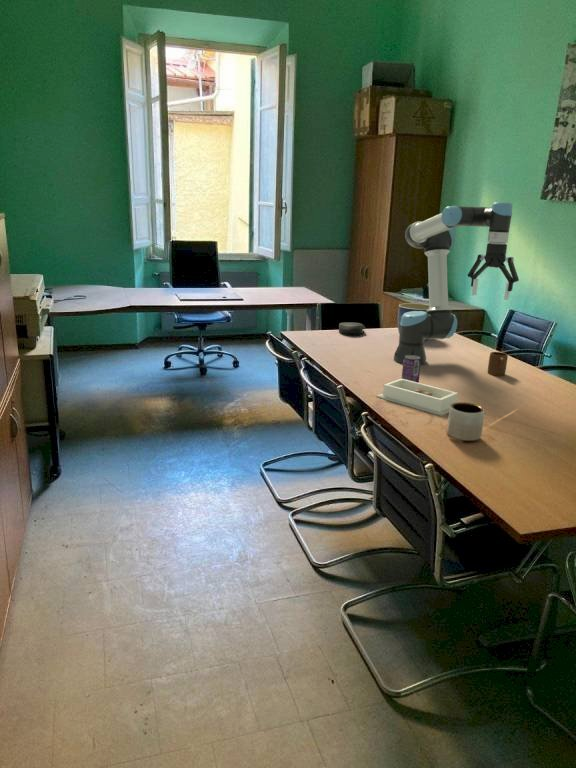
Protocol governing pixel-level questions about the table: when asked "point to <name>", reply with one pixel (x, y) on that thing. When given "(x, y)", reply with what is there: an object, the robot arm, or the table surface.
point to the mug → (497, 363)
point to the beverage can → (411, 368)
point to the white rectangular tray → (419, 396)
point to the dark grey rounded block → (351, 328)
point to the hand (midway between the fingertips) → (489, 297)
